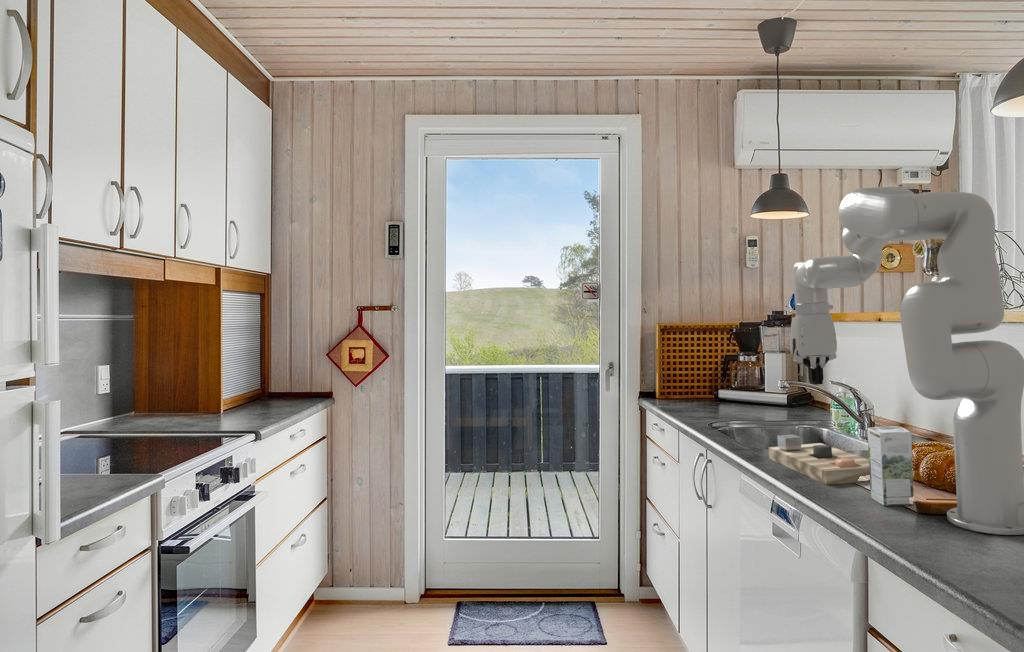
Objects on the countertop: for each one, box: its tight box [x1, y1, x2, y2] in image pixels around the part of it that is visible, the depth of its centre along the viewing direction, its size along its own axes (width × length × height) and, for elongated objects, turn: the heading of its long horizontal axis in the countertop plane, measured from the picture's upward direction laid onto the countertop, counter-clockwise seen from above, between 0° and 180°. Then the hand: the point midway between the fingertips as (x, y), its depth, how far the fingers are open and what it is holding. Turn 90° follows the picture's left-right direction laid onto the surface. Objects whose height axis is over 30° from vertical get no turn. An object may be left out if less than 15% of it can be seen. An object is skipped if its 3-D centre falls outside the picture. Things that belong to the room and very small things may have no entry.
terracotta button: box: [835, 458, 855, 468], centre depth 146 cm, size 4×4×3 cm
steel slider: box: [776, 433, 802, 450], centre depth 163 cm, size 4×4×3 cm
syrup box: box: [867, 425, 915, 507], centre depth 127 cm, size 6×6×14 cm
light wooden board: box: [768, 442, 870, 486], centre depth 155 cm, size 26×14×3 cm, turn 5°
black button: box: [813, 444, 833, 459], centre depth 155 cm, size 4×4×3 cm
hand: (816, 383), depth 162 cm, fingers closed
